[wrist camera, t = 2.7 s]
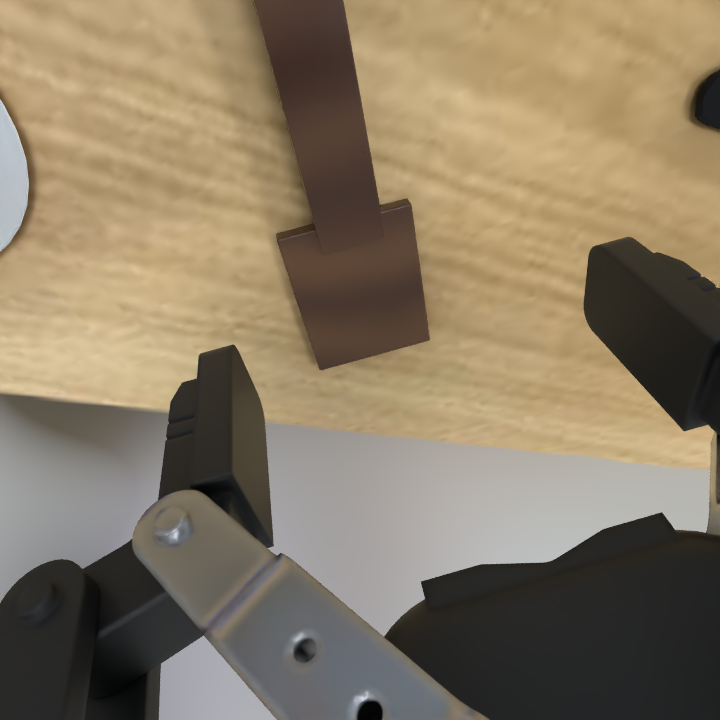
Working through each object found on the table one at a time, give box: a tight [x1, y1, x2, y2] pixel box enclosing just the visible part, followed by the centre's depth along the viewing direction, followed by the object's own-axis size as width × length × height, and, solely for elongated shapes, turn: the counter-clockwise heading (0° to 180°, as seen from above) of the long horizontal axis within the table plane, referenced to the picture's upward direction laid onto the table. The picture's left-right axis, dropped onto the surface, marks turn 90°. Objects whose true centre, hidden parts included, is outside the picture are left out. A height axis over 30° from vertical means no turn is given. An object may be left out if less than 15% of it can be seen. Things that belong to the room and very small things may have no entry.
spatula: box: [253, 0, 430, 370], centre depth 24 cm, size 24×7×4 cm, turn 11°
